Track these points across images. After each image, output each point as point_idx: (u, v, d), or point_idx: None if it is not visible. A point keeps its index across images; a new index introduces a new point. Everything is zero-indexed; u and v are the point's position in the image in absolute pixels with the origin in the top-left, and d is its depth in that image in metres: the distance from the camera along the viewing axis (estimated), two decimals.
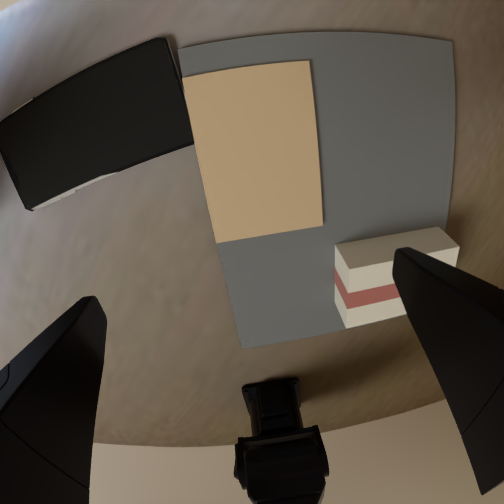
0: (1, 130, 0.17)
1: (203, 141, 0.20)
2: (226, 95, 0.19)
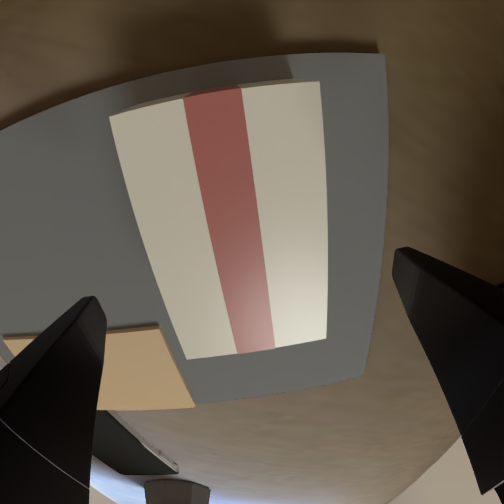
0: (121, 472, 0.28)
1: (98, 406, 0.20)
2: None
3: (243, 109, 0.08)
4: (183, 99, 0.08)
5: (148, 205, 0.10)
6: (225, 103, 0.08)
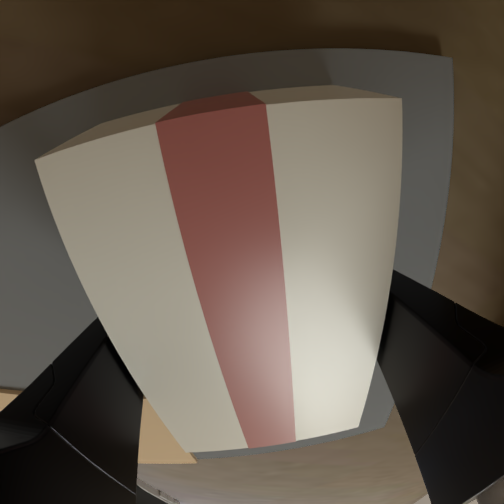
0: None
1: None
2: None
3: (270, 143, 0.05)
4: (156, 125, 0.04)
5: (112, 298, 0.06)
6: (234, 131, 0.04)
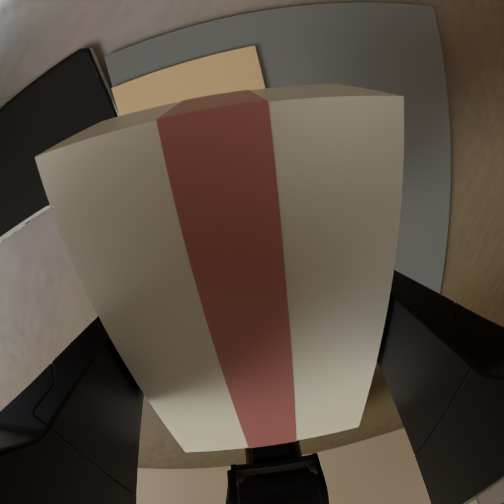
0: None
1: None
2: (161, 100, 0.16)
3: (271, 140, 0.05)
4: (157, 122, 0.04)
5: (112, 297, 0.06)
6: (236, 128, 0.04)
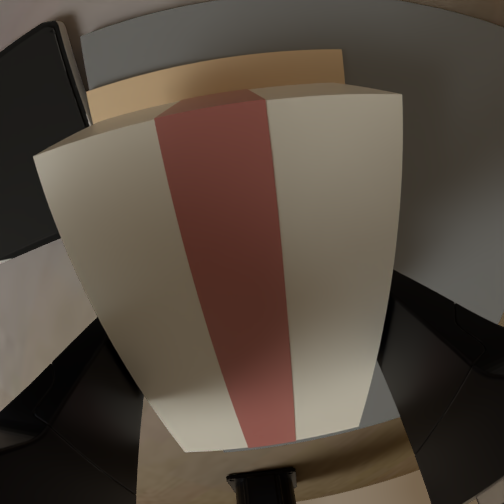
0: None
1: None
2: None
3: (269, 138, 0.05)
4: (155, 121, 0.04)
5: (111, 296, 0.06)
6: (233, 127, 0.04)
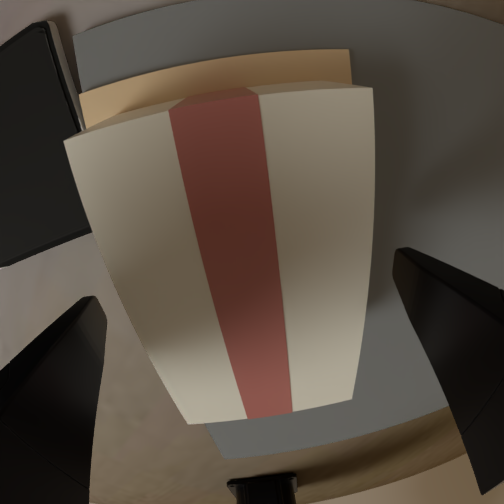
0: None
1: None
2: None
3: (261, 126, 0.06)
4: (169, 112, 0.05)
5: (126, 263, 0.07)
6: (233, 117, 0.05)
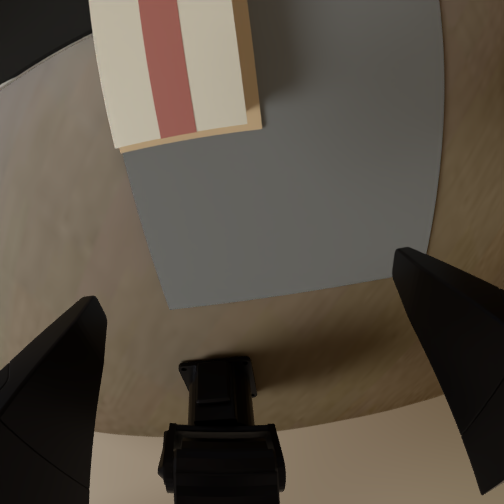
0: None
1: None
2: None
3: None
4: None
5: (99, 1, 0.09)
6: None
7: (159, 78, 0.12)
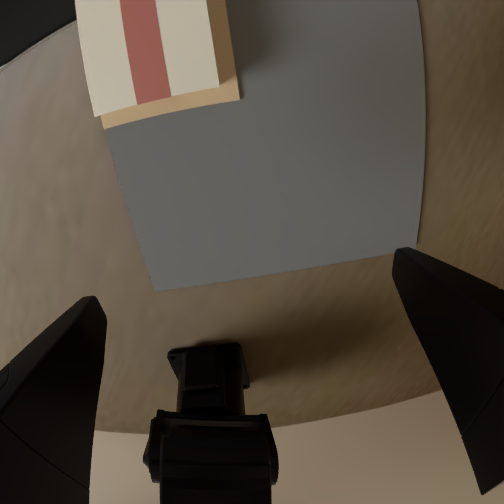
0: None
1: None
2: None
3: None
4: None
5: None
6: None
7: (135, 48, 0.12)
